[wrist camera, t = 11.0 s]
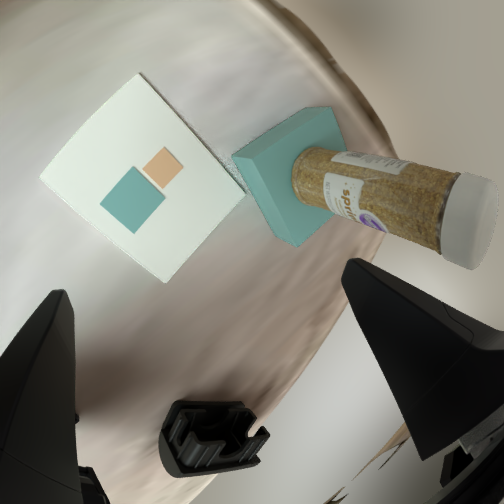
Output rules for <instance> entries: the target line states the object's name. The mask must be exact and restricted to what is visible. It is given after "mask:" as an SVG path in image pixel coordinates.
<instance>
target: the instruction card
mask: <svg viewBox="0 0 504 504" xmlns="http://www.w3.org/2000/svg"><path fill="white" fill-rule="evenodd" d="M39 178H40V179H41V180H42V181H43V182H44V183H45V184H46V185H47V186H48V187H49V188H50V189H51V190H52V191H54V192H55V193H56V194H57V195H58V196H59V197H60V198H61V199H62V200H63V201H65V202H66V203H67V204H68V205H69V206H70V207H71V208H72V209H74V210H75V211H76V212H77V213H78V214H79V215H80V216H82V217H83V218H84V219H85V220H86V221H87V222H89V223H90V224H91V225H92V226H93V227H94V228H96V229H97V230H98V231H99V232H100V233H102V234H103V235H104V236H105V237H106V238H108V239H109V240H110V241H111V242H112V243H114V244H115V245H116V246H117V247H119V248H120V249H121V250H122V251H124V252H125V253H126V254H127V255H129V256H130V257H131V258H132V259H134V260H135V261H136V262H137V263H139V264H140V265H141V266H143V267H144V268H145V269H147V270H148V271H149V272H150V273H152V274H153V275H154V276H156V277H157V278H158V279H160V280H161V281H162V282H164V283H165V284H166V283H167V282H168V281H169V279H170V278H171V277H172V276H173V275H174V274H175V272H176V271H177V270H178V269H179V268H180V267H181V266H182V264H183V263H184V262H185V261H186V260H187V259H188V258H189V256H190V255H191V254H192V253H193V252H194V251H195V250H196V249H197V247H198V246H199V245H200V244H201V243H202V242H203V241H204V240H205V239H206V237H207V236H208V235H209V234H210V233H211V232H212V231H213V230H214V229H215V227H216V226H217V225H218V224H219V223H220V222H221V221H222V220H223V219H224V218H225V217H226V215H227V214H228V213H229V212H230V211H231V210H232V209H233V208H234V207H235V206H236V205H237V204H238V203H239V201H240V200H241V199H242V198H243V197H244V196H245V195H246V194H245V193H244V191H243V190H242V189H241V188H240V187H239V186H238V184H237V183H236V182H235V181H234V180H233V178H232V177H231V176H230V175H229V174H228V173H227V172H226V170H225V169H224V168H223V167H222V166H221V165H220V163H219V162H218V161H217V160H216V159H215V158H214V157H213V155H212V154H211V153H210V152H209V151H208V150H207V149H206V147H205V146H204V145H203V144H202V143H201V142H200V141H199V139H198V138H197V137H196V136H195V135H194V134H193V133H192V132H191V130H190V129H189V128H188V127H187V126H186V125H185V124H184V123H183V121H182V120H181V119H180V118H179V117H178V116H177V115H176V114H175V113H174V111H173V110H172V109H171V108H170V107H169V106H168V105H167V104H166V103H165V102H164V100H163V99H162V98H161V97H160V96H159V95H158V94H157V93H156V92H155V91H154V90H153V88H152V87H151V86H150V85H149V84H148V83H147V82H146V81H145V80H144V79H143V78H142V77H141V76H140V75H139V73H138V74H137V75H135V76H134V77H133V78H132V79H131V80H130V81H128V82H127V83H126V84H125V85H124V86H123V87H122V88H120V89H119V90H118V91H117V92H116V93H115V94H114V95H113V96H112V97H111V98H110V99H108V100H107V101H106V102H105V103H104V104H103V105H102V106H101V107H100V108H99V109H98V110H97V111H96V112H95V113H94V114H93V115H92V116H91V117H90V118H89V119H88V120H87V121H86V122H85V123H84V124H83V126H82V127H81V128H80V129H79V130H78V131H77V132H76V133H75V134H74V135H73V136H72V138H71V139H70V140H69V141H68V142H67V143H66V144H65V145H64V147H63V148H62V149H61V150H60V151H59V153H58V154H57V155H56V156H55V157H54V159H53V160H52V161H51V162H50V164H49V165H48V166H47V167H46V169H45V170H44V171H43V173H42V174H41V175H40V176H39Z"/></svg>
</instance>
